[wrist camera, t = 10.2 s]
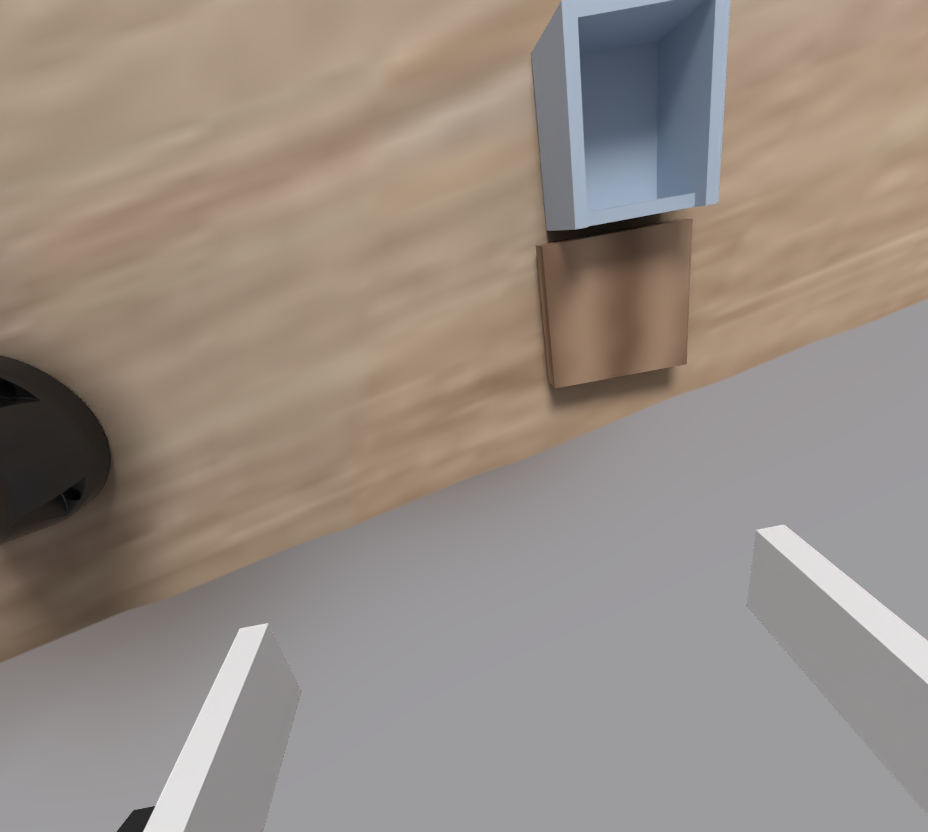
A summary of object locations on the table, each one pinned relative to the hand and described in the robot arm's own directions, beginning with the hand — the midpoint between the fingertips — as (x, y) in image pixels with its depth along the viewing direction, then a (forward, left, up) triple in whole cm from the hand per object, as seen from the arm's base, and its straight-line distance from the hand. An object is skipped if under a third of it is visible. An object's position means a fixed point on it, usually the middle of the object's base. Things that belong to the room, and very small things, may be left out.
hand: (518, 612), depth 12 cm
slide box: (+13, +14, -27) cm, 33 cm away
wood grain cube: (+13, +2, -27) cm, 30 cm away
